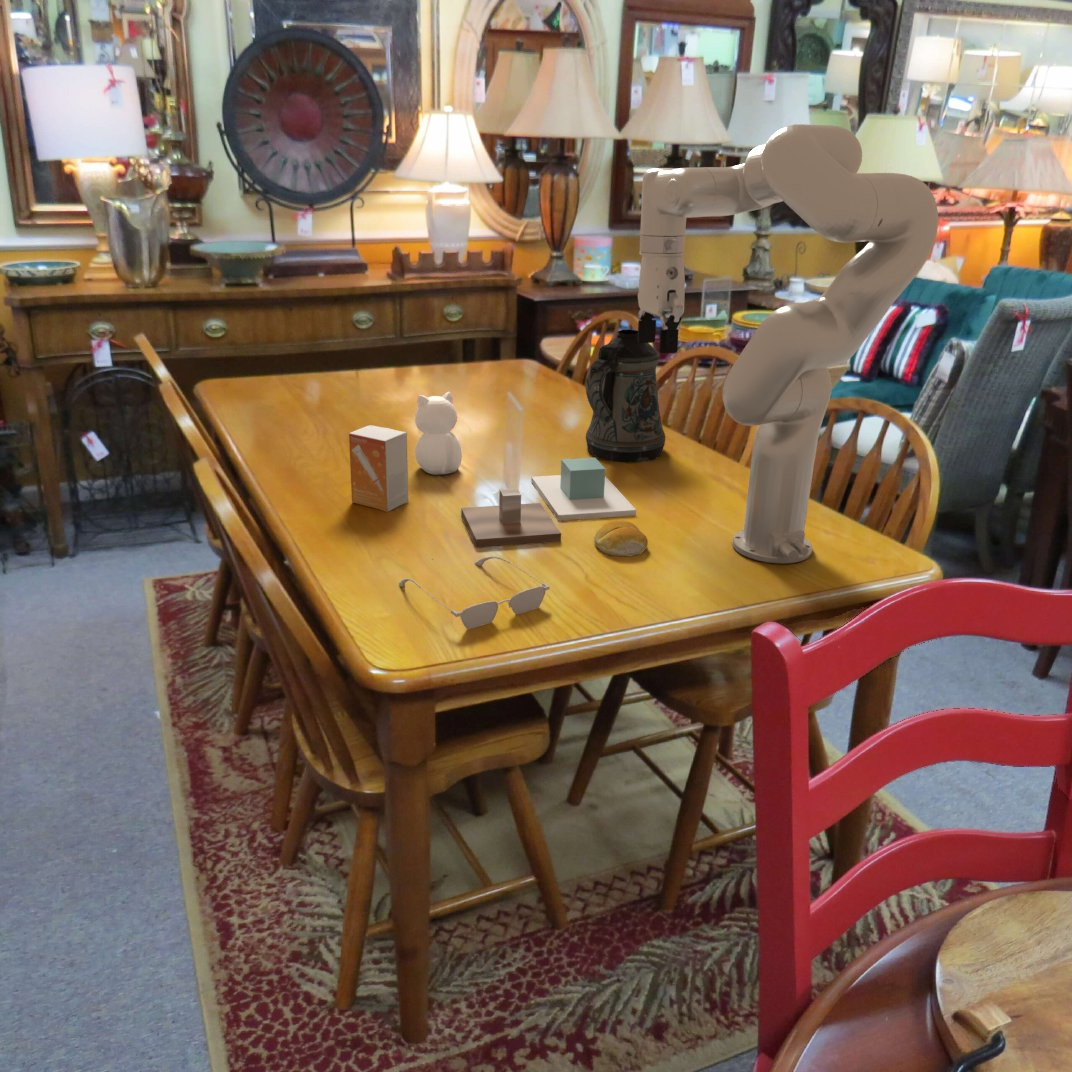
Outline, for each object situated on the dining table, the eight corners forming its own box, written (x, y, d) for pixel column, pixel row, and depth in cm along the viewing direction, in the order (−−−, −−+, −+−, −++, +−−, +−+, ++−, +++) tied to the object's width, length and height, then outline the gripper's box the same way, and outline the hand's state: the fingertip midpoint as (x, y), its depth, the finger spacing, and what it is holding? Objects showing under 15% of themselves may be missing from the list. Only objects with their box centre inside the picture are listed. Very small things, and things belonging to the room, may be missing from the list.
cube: (603, 497, 176) (605, 468, 174) (569, 499, 175) (570, 470, 173) (593, 485, 182) (595, 457, 180) (560, 487, 181) (561, 459, 178)
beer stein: (669, 443, 211) (679, 327, 201) (654, 472, 193) (664, 345, 184) (594, 436, 215) (600, 321, 205) (573, 462, 197) (578, 338, 188)
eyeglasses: (457, 637, 130) (456, 611, 129) (392, 587, 144) (391, 562, 142) (550, 608, 139) (551, 583, 137) (481, 563, 152) (481, 540, 151)
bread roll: (634, 534, 164) (635, 512, 163) (652, 555, 156) (654, 532, 155) (586, 537, 162) (588, 515, 161) (603, 559, 154) (604, 536, 153)
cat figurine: (449, 459, 198) (447, 386, 192) (475, 477, 187) (474, 400, 182) (407, 465, 194) (404, 390, 188) (431, 484, 183) (429, 405, 178)
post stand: (560, 541, 160) (562, 504, 157) (476, 548, 157) (476, 510, 154) (540, 510, 172) (541, 475, 170) (461, 516, 169) (461, 480, 167)
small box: (351, 503, 173) (347, 432, 168) (373, 493, 179) (370, 423, 174) (387, 512, 170) (385, 440, 165) (409, 501, 175) (407, 431, 170)
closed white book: (635, 515, 171) (636, 509, 171) (558, 520, 168) (558, 515, 168) (601, 477, 189) (602, 472, 189) (531, 481, 186) (531, 476, 186)
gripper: (704, 250, 159) (697, 355, 165) (662, 241, 174) (657, 338, 181) (661, 251, 157) (656, 358, 163) (622, 242, 172) (619, 340, 179)
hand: (656, 347), depth 172 cm, fingers open, 9 cm apart
